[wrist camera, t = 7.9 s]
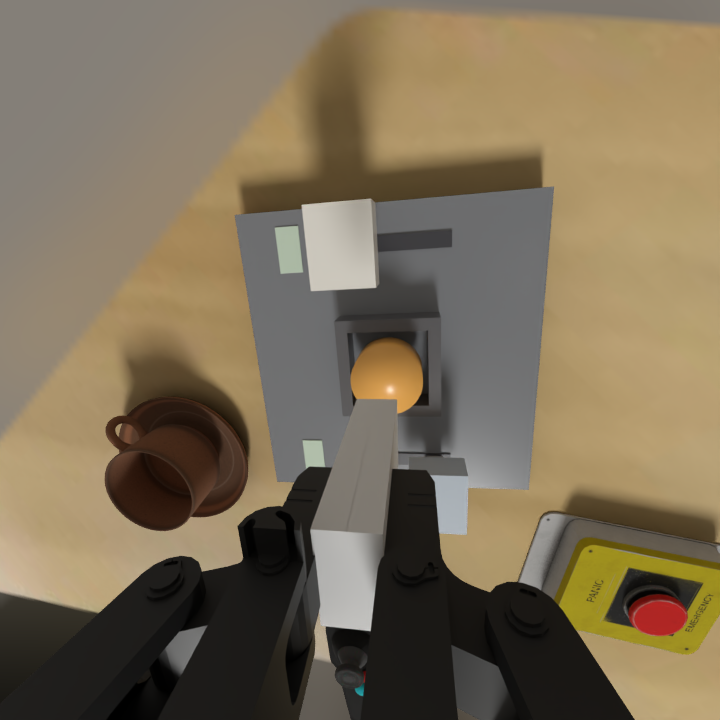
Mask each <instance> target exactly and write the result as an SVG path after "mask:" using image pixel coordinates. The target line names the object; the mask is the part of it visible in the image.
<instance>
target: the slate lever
mask: <svg viewBox="0 0 720 720" xmlns="http://www.w3.org/2000/svg"><path fill="white" fill-rule="evenodd" d="M409 469H411V470H427V471H428V473H429V474H430V476H431V477H432V478H433V480H434V481H435V490H436V502H437V514H438V525H439V533H443V534H462V535H467V508H468V473H467V468H466V464H465V459H464V458H444V457H443V456H426V457H409Z"/></svg>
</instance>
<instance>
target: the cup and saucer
mask: <svg viewBox="0 0 720 720" xmlns="http://www.w3.org/2000/svg"><path fill="white" fill-rule="evenodd" d="M121 423H123V424H122V426H121V429H120V433H119V437H118V436H117V435H116V432H115V428H116V426H117V425H118V424H121ZM106 435H107V438H108V439H109V441H110V442H111V443H112V444H113V445H114V446H115V447H116V448H118V449H119V454H118V455H117V456H115V457H114V458H113V459H112V460H111V461H110V463H109V464H108V466H107V468H106V472H105V486H106V490H107V493H108V495H109V497H110V499H111V501H112V503H113V504H114V505H115V507H116V508H117V509H118V510H119V511H120V512H121V513H122V514H123V515H124V516H125V517H126V518H128V519H129V520H130V521H132V522H134V523H135V524H137V525H139V526H141V527H144V528H147V529H151V530H156V531H168V530H173V529H176V528H178V527H180V526H182V525H183V524H184V523H186V522H187V520H188V519H189V518H190V517H209V516H213V515H217V514H220V513H222V512H224V511H226V510H228V509H229V508H230V507H232V506H233V505H234V504H235V503H236V502H237V501H238V499H239V498H240V496H241V495H242V493H243V491H244V488H245V485H246V482H247V478H248V460H247V456H246V452H245V449H244V447H243V444H242V442H241V440H240V439H239V437H238V435H237V434H236V432H235V431H234V430H233V428H232V427H231V426H230V425H229V424H228V423H227V422H226V421H225V420H224V419H223V418H222V417H221V416H220V415H219V414H217V413H216V412H215V411H213V410H211V409H210V408H208V407H206V406H205V405H203V404H200V403H198V402H195V401H193V400H189V399H185V398H180V397H161V398H156V399H152V400H149V401H146V402H144V403H142V404H140V405H138V406H137V407H135V408H134V409H133V410H132V411H131V412H130V413H129V414H128V415H127V416H117V417H114V418H113V419H111V420H110V421H109V422H108V424H107V426H106Z"/></svg>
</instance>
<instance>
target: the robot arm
mask: <svg viewBox="0 0 720 720" xmlns="http://www.w3.org/2000/svg"><path fill="white" fill-rule="evenodd" d="M238 531H239V537H240V542H241V547H242V553H243V560H242V562H240V563H238V564H235V565H231V566H228V567H223V568H218V569H213V570H209V571H204V572H202V571H201V568H200V565H199V562H198V561H196V560H195V559H193V558H192V557H185V556H178V557H173V558H168V559H166V560H163V561H161V562H159V563H157V564H155V565H153V566H152V567H151V568H149V569H148V570H146V571H145V572H144V573H142V574H141V575H140V576H139V577H138V578H137V579H136V580H135V581H134V582H133V583H131V584H130V585H129V586H128V587H127V588H126V589H125V590H124V591H123V592H122V593H120V594H119V595H118V596H117V597H116V598H115V599H114V600H113V601H112V602H111V603H110V604H108V605H107V606H106V607H105V608H104V609H103V610H102V611H101V612H100V613H99V614H98V615H97V616H95V617H94V618H93V619H92V620H91V621H90V622H89V623H88V624H87V625H86V626H84V627H83V628H82V629H81V630H80V631H79V632H78V633H77V634H76V635H75V636H73V638H71V639H70V640H69V641H68V642H67V643H66V644H65V645H64V646H63V647H62V648H60V649H59V650H58V651H57V652H56V653H55V654H54V655H53V656H52V657H51V658H50V659H49V660H47V661H46V662H45V663H44V664H43V665H42V666H41V667H40V668H39V669H37V670H36V671H35V672H34V673H33V674H32V675H31V676H30V677H29V678H28V679H27V680H25V681H24V683H22V684H21V685H20V686H19V687H18V688H17V689H16V690H15V691H13V692H12V693H11V694H10V695H9V696H8V697H7V698H6V699H5V700H4V701H2V702H1V703H0V720H299V716H300V712H301V708H302V704H303V700H304V695H305V691H306V687H307V683H308V679H309V674H310V670H311V666H312V662H313V658H314V653H315V635H314V629H315V625H316V621H317V617H318V613H320V622H321V626H328V627H337V628H347V629H356V630H365V631H370V640H369V649H368V657H367V666H366V675H365V684H364V692H363V701H362V710H361V719H360V720H458V715H457V708H459V709H460V710H462V711H464V712H466V713H468V714H470V715H472V716H473V717H476V718H477V719H479V720H635V719H634V718H633V716H632V715H631V713H630V712H629V710H628V709H627V707H626V706H625V704H624V703H623V701H622V700H621V698H620V697H619V695H618V694H617V692H616V690H615V689H614V687H613V686H612V684H611V683H610V681H609V680H608V678H607V677H606V675H605V674H604V672H603V671H602V669H601V668H600V666H599V665H598V663H597V662H596V660H595V658H594V657H593V655H592V654H591V652H590V651H589V649H588V648H587V646H586V645H585V643H584V642H583V640H582V639H581V637H580V636H579V634H578V633H577V631H576V630H575V628H574V626H573V625H572V623H571V622H570V620H569V619H568V617H567V616H566V614H565V613H564V611H563V610H562V609H561V608H560V607H559V605H558V604H557V603H556V602H555V601H554V600H553V599H552V597H550V596H549V595H547V594H546V593H544V592H543V591H541V590H540V589H538V588H536V587H533V586H531V585H528V584H525V583H521V582H506V583H503V584H500V585H497V586H496V587H495V588H494V589H493V590H492V591H491V592H487V591H484V590H482V589H479V588H477V587H474V586H472V585H469V584H467V583H465V582H463V581H462V580H460V579H459V578H458V577H456V576H455V575H454V574H453V573H452V572H451V571H450V570H449V569H448V568H447V566H446V564H445V563H444V561H443V559H442V555H441V549H440V537H439V525H438V514H437V502H436V490H435V481H434V480H433V478H432V477H431V476H430V474H429V473H428V471H427V470H411V469H398V421H397V399H357V400H356V403H355V406H354V409H353V411H352V414H351V417H350V420H349V423H348V425H347V428H346V431H345V434H344V437H343V439H342V442H341V445H340V448H339V451H338V453H337V456H336V459H335V462H334V464H333V467H310V466H309V467H308V468H307V469H306V470H304V471H303V472H302V473H301V474H300V475H299V476H297V478H296V480H295V482H294V485H293V487H292V490H291V491H290V493H289V495H288V497H287V500H286V501H285V503H284V505H283V507H281V506H275V507H266V508H263V509H260V510H257V511H255V512H254V513H252V514H250V515H249V516H247V517H246V518H245V519H244V520H243V521H242V522H241V523H240V524H239V525H238Z"/></svg>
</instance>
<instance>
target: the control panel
mask: <svg viewBox="0 0 720 720" xmlns="http://www.w3.org/2000/svg"><path fill="white" fill-rule="evenodd" d="M553 193H554V187H544V188H533V189H522V190H510V191H499V192H488V193H477V194H465V195H454V196H443V197H432V198H420V199H409V200H398V201H387V202H375V207H376V226H377V246H378V265H379V285H378V286H377V287H376V288H363V289H344V290H325V291H311V288H310V279H309V270H308V260H307V251H306V242H305V233H304V223H303V214H302V209H297V210H286V211H274V212H263V213H252V214H241V215H235V220H236V226H237V232H238V238H239V245H240V251H241V257H242V263H243V270H244V276H245V282H246V288H247V295H248V301H249V307H250V313H251V320H252V326H253V332H254V338H255V345H256V351H257V357H258V363H259V370H260V376H261V382H262V388H263V395H264V401H265V407H266V413H267V420H268V426H269V432H270V438H271V445H272V451H273V457H274V463H275V470H276V476H277V482H295V480H296V478H297V476H299V475H300V474H301V473H302V472H303V471H304V470H306V469H307V468H308V467H309V466H310V467H333V464H334V462H335V459H336V456H337V453H338V451H339V448H340V445H341V442H342V439H343V437H344V434H345V431H346V428H347V425H348V423H349V420H350V417H351V414H352V411H353V409H354V406H355V403H356V400H357V399H356V397H355V396H354V394H353V391H352V388H351V379H350V378H351V372H352V369H353V367H354V365H355V363H356V360H357V358H358V356H359V354H360V353H361V351H362V350H363V348H364V347H365V346H366V345H367V344H369V343H370V342H372V341H374V340H376V339H379V338H384V337H393V338H398V339H401V340H403V341H405V342H407V343H409V344H410V345H411V346H412V347H413V348H414V349H415V350H416V351H417V353H418V355H419V356H420V359H421V362H422V372H423V388H422V392H421V395H420V397H419V399H418V400H417V401H416V403H415V404H414V405H413V406H412V407H410V408H409V409H408V410H406V411H404V412H402V413H399V414H397V421H398V469H409V457H426V456H443V457H444V458H464V459H465V464H466V468H467V473H468V488H492V489H523V490H529V480H530V468H531V456H532V444H533V432H534V420H535V408H536V396H537V384H538V372H539V360H540V348H541V336H542V324H543V312H544V300H545V288H546V276H547V264H548V252H549V240H550V228H551V216H552V204H553Z"/></svg>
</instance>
